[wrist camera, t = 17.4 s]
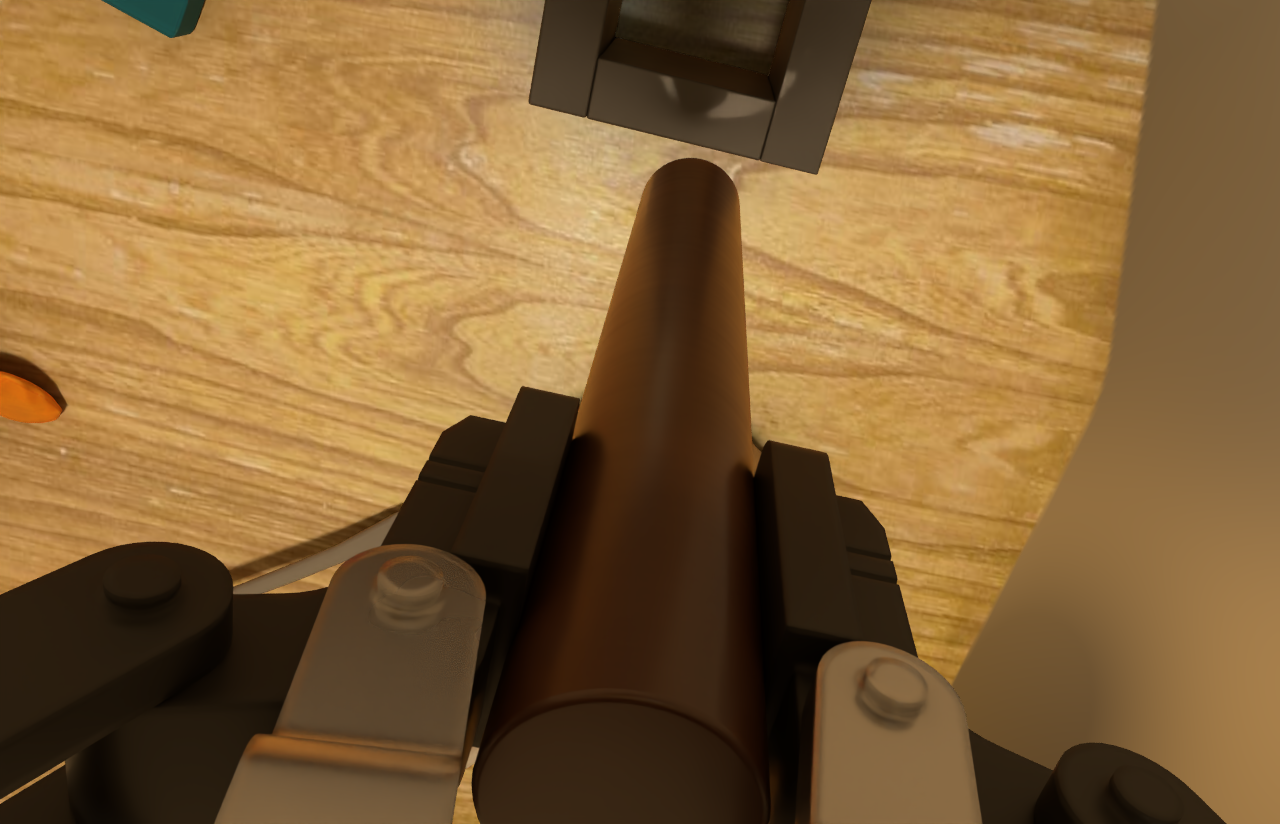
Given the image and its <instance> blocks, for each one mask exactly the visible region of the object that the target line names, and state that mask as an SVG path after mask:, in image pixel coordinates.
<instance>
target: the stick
mask: <svg viewBox="0 0 1280 824" xmlns="http://www.w3.org/2000/svg"><path fill="white" fill-rule="evenodd" d="M472 795H473V802H474V806H475V809H476V813H477V817H478V819H479V822H480V824H768V823H769V820H770V810H771V795H770V776H769V757H768V738H767V719H766V700H765V685H764V666H763V647H762V627H761V608H760V589H759V570H758V550H757V531H756V512H755V493H754V470H753V451H752V432H751V413H750V394H749V375H748V356H747V336H746V317H745V298H744V279H743V260H742V241H741V222H740V204H739V196H738V192H737V190H736V187H735V185H734V183H733V181H732V180H731V178H730V177H729V176H728V175H727V174H726V173H725V171H723V170H722V169H721V168H720V167H718V166H717V165H715V164H713V163H711V162H709V161H706V160H703V159H697V158H683V159H678V160H675V161H672V162H669V163H667V164H666V165H664V166H662V167H661V168H660V169H658V170H657V171H656V172H655V173H654V174H653V175H652V177H651V178H650V179H649V181H648V182H647V184H646V186H645V188H644V191H643V194H642V197H641V201H640V204H639V208H638V211H637V214H636V218H635V221H634V225H633V228H632V231H631V235H630V238H629V241H628V245H627V248H626V252H625V255H624V258H623V262H622V265H621V269H620V272H619V275H618V279H617V282H616V286H615V289H614V292H613V296H612V299H611V303H610V306H609V309H608V313H607V316H606V320H605V323H604V326H603V330H602V333H601V336H600V340H599V343H598V347H597V350H596V353H595V357H594V360H593V364H592V367H591V370H590V374H589V377H588V381H587V384H586V387H585V391H584V394H583V398H582V401H581V404H580V408H579V411H578V415H577V419H576V424H575V429H574V434H573V439H572V443H571V447H570V450H569V454H568V457H567V460H566V464H565V467H564V471H563V474H562V478H561V481H560V485H559V488H558V492H557V495H556V499H555V502H554V506H553V509H552V513H551V516H550V519H549V523H548V526H547V530H546V533H545V537H544V540H543V544H542V547H541V551H540V554H539V558H538V561H537V565H536V568H535V572H534V575H533V578H532V582H531V585H530V589H529V592H528V596H527V599H526V603H525V606H524V610H523V613H522V617H521V620H520V624H519V627H518V630H517V634H516V637H515V639H514V641H513V642H512V644H511V646H510V649H509V651H508V653H507V655H506V659H505V662H504V666H503V669H502V672H501V676H500V679H499V683H498V686H497V689H496V693H495V696H494V699H493V703H492V706H491V710H490V713H489V716H488V720H487V723H486V727H485V730H484V733H483V737H482V740H481V744H480V747H479V750H478V754H477V757H476V761H475V764H474V768H473V773H472Z"/></svg>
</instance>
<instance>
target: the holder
mask: <svg viewBox="0 0 1280 824" xmlns="http://www.w3.org/2000/svg"><path fill="white" fill-rule="evenodd" d="M870 4H871V0H789V2H788V6H787V9H786V13H785V17H784V20H783V24H782V28H781V31H780V35H779V39H778V42H777V46H776V50H775V53H774V57H773V60H772V64H771V68H770V71H769V75H766V74H762V73H758V72H754V71H750V70H746V69H742V68H738V67H734V66H730V65H726V64H722V63H718V62H714V61H710V60H706V59H702V58H698V57H694V56H690V55H686V54H682V53H678V52H674V51H670V50H666V49H662V48H658V47H654V46H650V45H646V44H642V43H637V42H633V41H629V40H625V39H621V38H615V35H616V30H617V25H618V20H619V15H620V10H621V5H622V0H545V4H544V11H543V17H542V23H541V29H540V35H539V41H538V47H537V53H536V59H535V65H534V71H533V77H532V83H531V89H530V95H529V104H531V105H535V106H539V107H543V108H547V109H551V110H555V111H559V112H563V113H567V114H571V115H575V116H580V117H586V116H587V118H588V119H591V120H596V121H600V122H604V123H608V124H612V125H616V126H620V127H624V128H628V129H632V130H636V131H640V132H645V133H649V134H653V135H657V136H661V137H665V138H669V139H673V140H677V141H681V142H685V143H689V144H694V145H698V146H702V147H706V148H710V149H714V150H718V151H722V152H726V153H730V154H734V155H738V156H743V157H747V158H751V159H755V160H760V161H762V162H766V163H770V164H774V165H779V166H783V167H787V168H791V169H795V170H799V171H803V172H807V173H811V174H815V175H817V174H818V171H819V168H820V165H821V161H822V158H823V155H824V152H825V149H826V145H827V142H828V139H829V136H830V132H831V129H832V126H833V123H834V120H835V116H836V113H837V110H838V107H839V103H840V100H841V97H842V94H843V91H844V87H845V84H846V81H847V78H848V75H849V71H850V68H851V65H852V62H853V58H854V55H855V52H856V49H857V46H858V42H859V39H860V36H861V33H862V29H863V26H864V23H865V20H866V17H867V13H868V10H869V7H870Z"/></svg>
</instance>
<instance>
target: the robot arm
mask: <svg viewBox="0 0 1280 824" xmlns="http://www.w3.org/2000/svg"><path fill="white" fill-rule="evenodd" d="M579 402H580V398H575V397H570V396H566V395H561V394H557V393H552V392H548V391H543V390H538V389H534V388H529V387H525V386H522V387H521V389H520V391H519V393H518V396H517V398H516V400H515V403H514V405H513V407H512V410H511V412H510V414H509V417H508V419H507V421H506V423H504V422H500V421H495V420H491V419H486V418H481V417H477V416H472V415H470V416H468V417H467V418H465V419H463V420H462V421H460V422H458V423H457V424H455V425H453V426H452V427H450V428H448V429H447V430H445V431H443V432H442V434H441V436H440V437H439V439H438V441H437V443H436V445H435V447H434V448H433V450H432V452H431V454H430V457H429V460H427V461H426V463H425V465H424V467H423V469H422V471H421V472H420V474H419V478H418V480H416V482H415V483H414V485H413V487H412V489H411V491H410V493H409V494H408V496H407V498H406V500H405V502H404V504H403V505H402V507H401V509H400V511H399V513H398V515H397V516H396V518H395V520H394V522H393V524H392V526H391V528H390V529H389V531H388V533H387V535H386V537H385V539H384V540H383V542H382V544H381V546H380V547H376V548H372V549H369V550H366V551H363V552H361V553H359V554H357V555H355V556H353V557H351V558H350V559H348V560H347V561H346V562H345V563H343V564H342V565H341V566H340V567H339V568H338V570H337V571H336V572H335V574H334V575H333V577H332V579H331V581H330V584H329V587H325V588H322V589H318V590H313V591H307V592H300V593H280V594H233V581H232V578H231V575H230V573H229V571H228V569H227V568H226V567H225V566H224V564H223V563H222V562H220V561H219V560H218V559H217V558H216V557H214V556H212V555H211V554H209V553H207V552H205V551H203V550H200V549H197V548H195V547H192V546H187V545H183V544H178V543H170V542H140V543H132V544H126V545H120V546H116V547H113V548H109V549H105V550H103V551H100V552H97V553H95V554H92V555H90V556H87V557H85V558H83V559H81V560H78V561H76V562H74V563H72V564H69V565H67V566H65V567H62V568H60V569H58V570H56V571H53V572H51V573H49V574H46V575H44V576H42V577H40V578H37V579H35V580H33V581H31V582H28V583H26V584H24V585H21V586H19V587H17V588H15V589H12V590H10V591H8V592H6V593H3V594H1V595H0V799H2V798H3V797H5V796H7V795H8V794H10V793H12V792H13V791H15V790H17V789H18V788H20V787H22V786H23V785H25V784H27V783H28V782H30V781H32V780H33V779H35V778H37V777H38V776H40V775H42V774H43V773H45V772H47V771H48V770H50V769H52V768H53V767H55V766H57V765H58V764H60V763H62V762H63V761H65V765H64V766H62V767H61V768H59V769H57V770H56V771H54V772H52V773H51V774H49V775H47V776H46V777H44V778H42V779H41V780H39V781H37V782H36V783H34V784H32V785H31V786H29V787H28V788H26V789H24V790H23V791H21V792H19V793H18V794H16V795H14V796H13V797H11V798H9V799H8V800H6V801H4V802H3V803H1V804H0V824H452V820H453V814H454V807H455V801H456V794H457V788H458V786H459V785H460V782H461V780H462V777H463V775H464V771H465V768H466V765H467V762H468V758H469V755H470V752H471V748H472V747H476V748H479V747H480V744H481V740H482V737H483V733H484V730H485V727H486V723H487V720H488V716H489V713H490V710H491V706H492V703H493V699H494V696H495V693H496V689H497V686H498V683H499V679H500V676H501V672H502V669H503V666H504V662H505V659H506V655H507V653H508V651H509V649H510V646H511V644H512V642H513V641H514V639H515V637H516V634H517V630H518V627H519V624H520V620H521V617H522V613H523V610H524V606H525V603H526V599H527V596H528V592H529V589H530V585H531V582H532V578H533V575H534V572H535V568H536V565H537V561H538V558H539V554H540V551H541V547H542V544H543V540H544V537H545V533H546V530H547V526H548V523H549V519H550V516H551V513H552V509H553V506H554V502H555V499H556V495H557V492H558V488H559V485H560V481H561V478H562V474H563V471H564V467H565V464H566V460H567V457H568V454H569V450H570V447H571V443H572V439H573V434H574V429H575V424H576V419H577V414H578V409H579ZM754 493H755V512H756V531H757V550H758V570H759V589H760V608H761V627H762V647H763V666H764V685H765V700H766V719H767V738H768V757H769V776H770V795H771V810H770V820H769V823H768V824H1226V823H1225V822H1224V821H1223V820H1222V819H1221V818H1220V817H1219V816H1218V815H1217V814H1216V813H1215V812H1214V811H1213V810H1212V809H1211V808H1210V807H1209V806H1208V805H1207V804H1206V803H1205V802H1204V801H1203V800H1202V799H1201V798H1200V797H1199V796H1198V795H1197V794H1196V793H1195V792H1193V791H1192V790H1191V789H1190V788H1189V787H1188V786H1187V785H1186V784H1185V783H1184V782H1182V781H1181V780H1180V779H1178V778H1177V777H1176V776H1175V775H1173V774H1172V773H1171V772H1169V771H1168V770H1166V769H1164V768H1163V767H1162V766H1160V765H1158V764H1157V763H1155V762H1153V761H1151V760H1150V759H1148V758H1146V757H1144V756H1142V755H1140V754H1137V753H1135V752H1132V751H1130V750H1127V749H1124V748H1121V747H1117V746H1114V745H1108V744H1103V743H1084V744H1079V745H1076V746H1074V747H1071V748H1070V749H1068V750H1067V751H1065V753H1064V754H1063V755H1062V757H1061V758H1060V760H1059V761H1058V763H1057V765H1056V767H1055V769H1054V770H1051V769H1048V768H1046V767H1044V766H1042V765H1040V764H1037V763H1035V762H1033V761H1031V760H1029V759H1026V758H1024V757H1022V756H1020V755H1018V754H1015V753H1013V752H1011V751H1009V750H1007V749H1004V748H1002V747H1000V746H998V745H996V744H994V743H992V742H990V741H988V740H986V739H984V738H982V737H981V736H979V735H978V734H976V733H974V732H973V731H971V730H970V729H968V725H967V719H966V713H965V710H964V706H963V704H962V702H961V700H960V697H959V696H958V694H957V693H956V691H955V690H954V688H953V687H952V686H951V685H950V684H949V682H948V681H947V680H946V679H945V678H944V677H943V676H942V675H941V674H939V673H938V672H937V671H936V670H935V669H934V668H932V667H931V666H929V665H928V664H927V663H925V662H924V661H922V660H920V659H919V658H918V656H917V652H916V648H915V644H914V640H913V637H912V633H911V629H910V625H909V621H908V617H907V614H906V610H905V606H904V602H903V598H902V594H901V591H900V587H899V585H897V575H896V571H895V568H894V564H893V561H891V552H890V548H889V545H888V541H887V537H886V533H885V529H884V527H883V526H882V525H881V524H880V523H879V521H878V520H877V519H876V518H875V517H874V515H873V514H872V513H871V512H870V511H869V509H868V508H867V507H866V506H865V505H864V503H863V502H862V501H860V500H856V499H851V498H847V497H842V496H837V495H836V493H835V488H834V483H833V478H832V472H831V467H830V462H829V457H828V455H827V453H825V452H820V451H815V450H811V449H806V448H802V447H797V446H793V445H788V444H784V443H779V442H774V441H770V440H769V441H767V442H766V444H765V446H764V448H763V450H762V453H761V456H760V459H759V462H758V465H757V469H756V472H755V475H754Z"/></svg>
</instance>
